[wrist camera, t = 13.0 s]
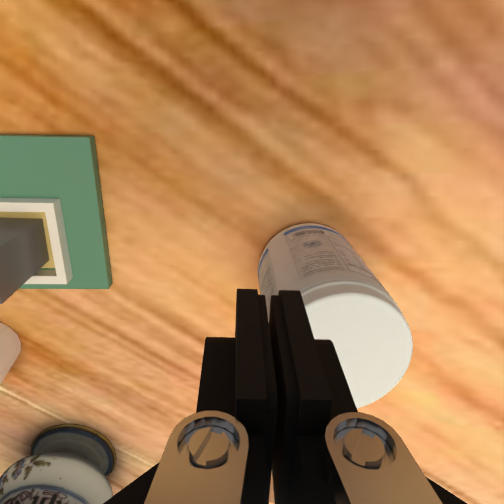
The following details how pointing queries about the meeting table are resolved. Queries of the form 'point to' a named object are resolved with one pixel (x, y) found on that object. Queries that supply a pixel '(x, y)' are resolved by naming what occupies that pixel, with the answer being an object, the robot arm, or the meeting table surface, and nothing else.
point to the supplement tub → (341, 305)
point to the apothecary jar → (61, 469)
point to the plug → (20, 252)
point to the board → (58, 206)
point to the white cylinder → (8, 349)
